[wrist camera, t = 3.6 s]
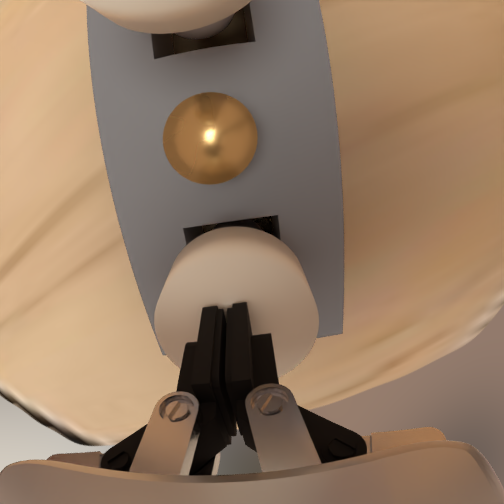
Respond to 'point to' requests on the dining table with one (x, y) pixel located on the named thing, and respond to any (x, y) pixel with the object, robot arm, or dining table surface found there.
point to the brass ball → (210, 138)
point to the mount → (262, 164)
